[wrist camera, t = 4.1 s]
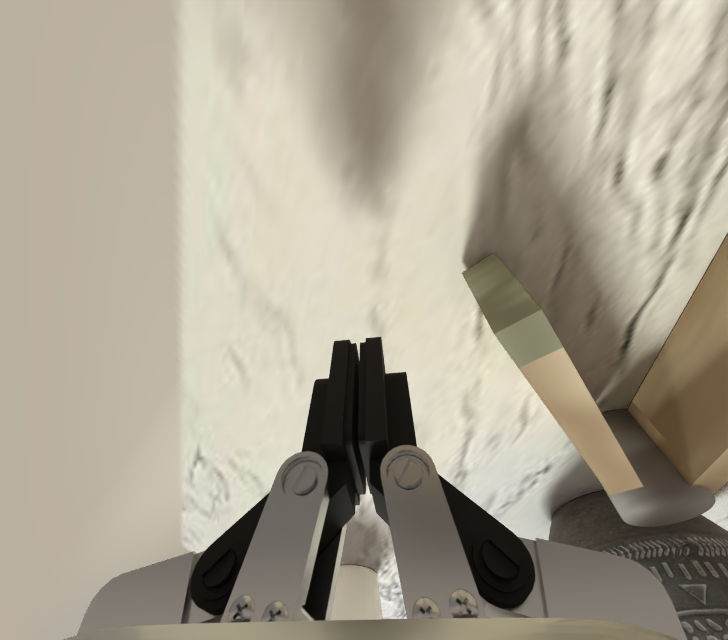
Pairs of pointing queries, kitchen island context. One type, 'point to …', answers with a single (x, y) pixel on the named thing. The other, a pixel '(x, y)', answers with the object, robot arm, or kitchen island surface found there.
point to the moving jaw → (549, 370)
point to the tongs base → (681, 414)
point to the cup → (357, 594)
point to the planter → (659, 557)
